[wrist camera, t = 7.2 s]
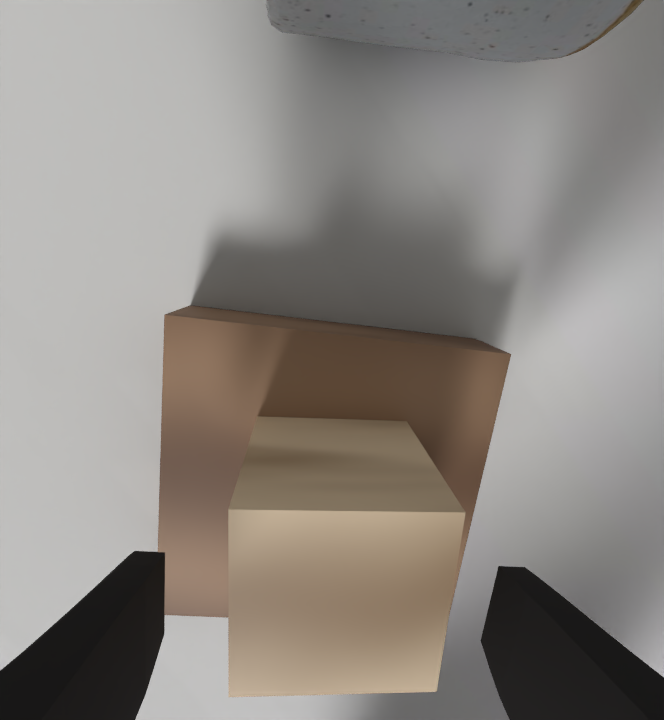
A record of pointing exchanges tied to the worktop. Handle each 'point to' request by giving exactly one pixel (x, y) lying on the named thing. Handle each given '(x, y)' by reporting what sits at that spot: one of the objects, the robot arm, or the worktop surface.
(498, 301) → the worktop surface
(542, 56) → the ceramic mug
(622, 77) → the worktop surface
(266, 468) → the oak cube
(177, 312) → the walnut block
